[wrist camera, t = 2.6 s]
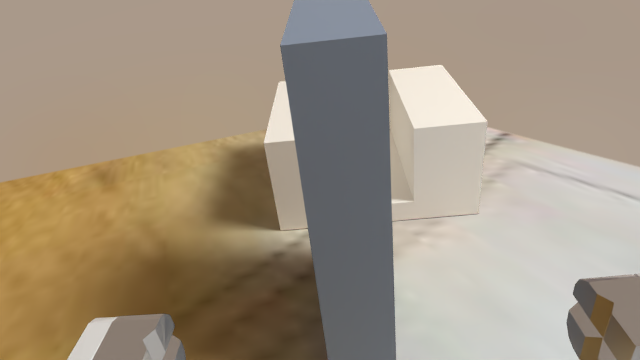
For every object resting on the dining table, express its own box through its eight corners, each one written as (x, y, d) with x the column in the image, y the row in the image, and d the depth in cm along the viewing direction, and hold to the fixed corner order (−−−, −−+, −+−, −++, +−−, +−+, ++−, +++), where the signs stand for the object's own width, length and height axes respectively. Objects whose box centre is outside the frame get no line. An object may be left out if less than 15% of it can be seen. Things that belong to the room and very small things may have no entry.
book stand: (280, 230, 32) (263, 143, 28) (290, 152, 42) (279, 81, 38) (478, 213, 31) (487, 121, 27) (439, 138, 41) (441, 64, 38)
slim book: (332, 389, 21) (280, 45, 12) (329, 260, 28) (295, -5, 20) (396, 385, 20) (386, 33, 12) (375, 256, 28) (361, -13, 20)
